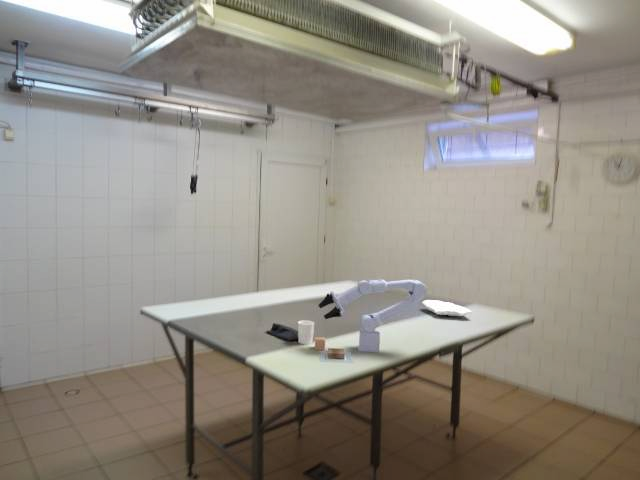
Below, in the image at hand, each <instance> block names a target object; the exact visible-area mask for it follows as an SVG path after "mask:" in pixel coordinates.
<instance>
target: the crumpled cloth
mask: <svg viewBox="0 0 640 480" xmlns="http://www.w3.org/2000/svg"><path fill="white" fill-rule="evenodd" d="M421 304H422V305H424V306H425V308H427V309H428V310H429V311H430V312H432V313H434V314H436V315H437V316H439V315H440V317H441V316H446V315H448V317H464V316H467V315H469V314H472V313H473V312H472V310H470V309H469V308H467V307H464V306H461V305H458V304H454V303H453V302H449V301H447V302H445V301H443V300H439V299H437V300H436V299H434V300H433V299H425V300H423V301H421Z"/></svg>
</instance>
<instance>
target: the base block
mask: <svg viewBox="0 0 640 480" xmlns="http://www.w3.org/2000/svg"><path fill="white" fill-rule="evenodd" d="M327 351H328V359H344V358H345V353H344V352H345V350H344V348H333V347H331V348H329V347H328V348H327Z"/></svg>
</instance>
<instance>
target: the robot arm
mask: <svg viewBox="0 0 640 480" xmlns="http://www.w3.org/2000/svg"><path fill="white" fill-rule="evenodd" d="M393 289H394V290H395V289H397V290H398V289H405V290H407V291H408V294H407V298H406V299H404V300H401V301H399V302H397V303H395V304H393V305H391V306H388V307H387V308H384V309H382V310H380V311H377V312H372V313H370V314H363V315H362V316H361V317H360V319H359V323H360V325H361V327H360V328H359V337H358V338H359V339H358V340H359V341H358V345H357V350H358V352H371V353H372V352H373V353H377V352H378V353H380V343H381V341H380V340H381V339H380V338H381V334H380V331H379V330H376V329H377V328H378V327H380V326H381V325H382V323H384V322H387V321H389V320H390V319H393V318H395V317H398V316H400V315H402V314H404V313H406V312H408V311H411V310H412V309H415V308H417V307H418V305H419V304H420V303H421V302H422V300H423V299H424V298H425V297H426V296H427V291H428V288H427V285H426V284H425V283H424V282H421V281H420V280H419V279H401V280H394V281H393V280H392V281H386V280H385V279H382V278H378V279H372V280H371V279H368V280H365V279H364V280H363V279H362V280H359V281H358V282H357V283H356V285H354V286H352V287H350V288H348V289H346V290H344V291H343V292H341V293H340V294H337V296H336V294H335V291H333V290H332V291H330V292H329V293H327V294H326V296H325V297H324V298H323V300H322V301H321V302H320V303H319V304H318V307H319V308H320V309H322V308H324V307H326V306H328V305H333V304H334V303H335V306H334V307H333V308H332V309H331V310H330V311H329V312H327V313H326V314H324V315H323V317H324V319H325V320H328V319H332V318H341V317H342V316H344V315H346V311H345V310H344V307H345V306H347V305H349V304H350V303H352V302H354V301H355V300H357V299H359V298H361V297H362V296H364V295H369V294H370V293H371V294H372V293H374V294H375V293H385V292H386V291H387V290H393Z"/></svg>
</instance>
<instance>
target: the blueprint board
mask: <svg viewBox="0 0 640 480" xmlns="http://www.w3.org/2000/svg"><path fill="white" fill-rule="evenodd" d="M344 353H345V358H344V359H328V350H319V360H320V361H319V362H321V363H322V362H326V363H327V362H328V363H351V364H352V363H353V364H354V360H353V357H352V353H351V351H344Z"/></svg>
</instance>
